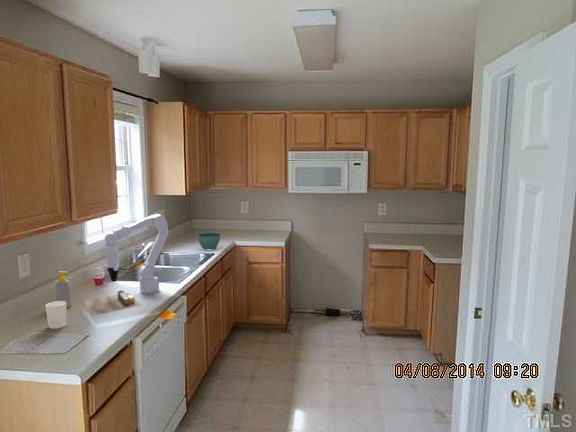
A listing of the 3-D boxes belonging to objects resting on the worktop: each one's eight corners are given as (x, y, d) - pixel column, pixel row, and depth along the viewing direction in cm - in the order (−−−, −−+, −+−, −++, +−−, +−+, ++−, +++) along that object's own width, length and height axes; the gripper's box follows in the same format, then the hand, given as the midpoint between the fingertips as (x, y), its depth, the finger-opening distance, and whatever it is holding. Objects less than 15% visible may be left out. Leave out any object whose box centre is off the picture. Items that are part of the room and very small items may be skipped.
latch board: (128, 295, 215) (128, 292, 215) (141, 308, 196) (141, 304, 196) (83, 304, 202) (82, 300, 202) (92, 318, 183) (92, 315, 183)
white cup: (71, 324, 176) (69, 303, 175) (52, 331, 169) (50, 308, 168) (62, 321, 180) (60, 299, 179) (43, 326, 174) (41, 304, 173)
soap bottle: (65, 309, 195) (62, 273, 193) (53, 308, 196) (50, 272, 194) (75, 304, 202) (73, 269, 200) (63, 303, 203) (61, 269, 201)
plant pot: (213, 246, 345) (213, 232, 343) (224, 249, 331) (224, 234, 329) (194, 249, 333) (193, 234, 332) (204, 252, 319) (204, 237, 318)
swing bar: (117, 296, 208) (116, 290, 207) (123, 295, 209) (123, 289, 209) (123, 305, 195) (123, 299, 194) (130, 303, 196) (130, 297, 196)
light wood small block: (132, 300, 203) (132, 294, 203) (134, 302, 200) (134, 297, 199) (127, 301, 201) (127, 295, 201) (129, 303, 198) (129, 298, 198)
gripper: (100, 254, 211) (102, 279, 212) (107, 259, 199) (108, 285, 201) (115, 252, 215) (116, 277, 217) (122, 257, 203) (123, 283, 205)
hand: (113, 281), depth 209 cm, fingers closed
